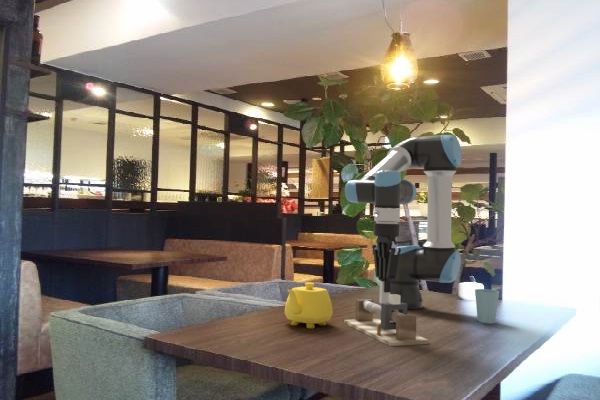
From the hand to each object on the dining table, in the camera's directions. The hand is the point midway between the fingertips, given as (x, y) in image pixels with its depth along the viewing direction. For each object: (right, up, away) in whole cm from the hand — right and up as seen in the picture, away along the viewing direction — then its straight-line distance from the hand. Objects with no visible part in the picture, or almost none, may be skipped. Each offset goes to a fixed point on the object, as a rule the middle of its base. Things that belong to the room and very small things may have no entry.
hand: (384, 302), depth 154 cm
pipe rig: (0, -9, -1) cm, 9 cm away
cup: (+37, -11, +21) cm, 44 cm away
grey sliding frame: (+2, -6, -6) cm, 9 cm away
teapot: (-23, -8, +7) cm, 26 cm away
